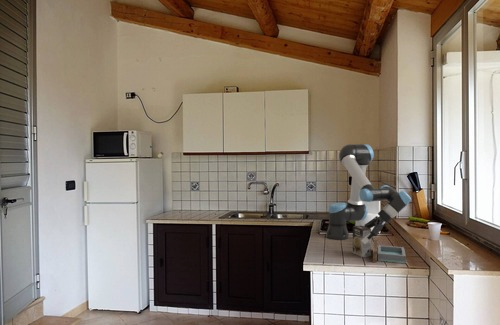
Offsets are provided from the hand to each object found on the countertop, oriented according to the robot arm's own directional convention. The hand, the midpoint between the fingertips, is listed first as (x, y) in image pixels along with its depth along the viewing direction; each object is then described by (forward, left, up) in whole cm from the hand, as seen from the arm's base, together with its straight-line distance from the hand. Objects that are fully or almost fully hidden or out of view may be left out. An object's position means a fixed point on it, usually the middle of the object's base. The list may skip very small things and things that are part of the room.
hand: (360, 239), depth 203 cm
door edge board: (+8, +1, -9) cm, 12 cm away
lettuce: (-3, +85, -9) cm, 85 cm away
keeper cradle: (+17, +1, -9) cm, 19 cm away
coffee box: (+1, +1, -9) cm, 9 cm away
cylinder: (+2, +59, -9) cm, 60 cm away
